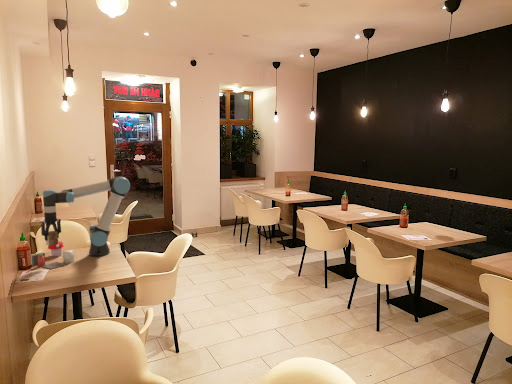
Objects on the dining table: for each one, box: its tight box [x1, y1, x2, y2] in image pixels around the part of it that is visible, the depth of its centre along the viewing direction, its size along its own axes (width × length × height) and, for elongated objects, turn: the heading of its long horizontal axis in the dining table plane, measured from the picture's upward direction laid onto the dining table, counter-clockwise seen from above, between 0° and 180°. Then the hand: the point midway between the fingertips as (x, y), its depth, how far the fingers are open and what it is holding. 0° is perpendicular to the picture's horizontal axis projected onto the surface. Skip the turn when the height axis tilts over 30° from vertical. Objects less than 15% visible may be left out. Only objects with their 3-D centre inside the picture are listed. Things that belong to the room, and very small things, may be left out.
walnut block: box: [48, 230, 59, 246], centre depth 274 cm, size 6×6×9 cm
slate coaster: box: [41, 261, 67, 270], centre depth 273 cm, size 11×11×1 cm
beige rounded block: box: [62, 249, 75, 264], centre depth 281 cm, size 7×7×8 cm
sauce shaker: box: [37, 253, 46, 268], centre depth 273 cm, size 4×4×9 cm
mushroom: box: [47, 240, 65, 258], centre depth 297 cm, size 11×11×12 cm
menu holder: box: [30, 252, 46, 266], centre depth 278 cm, size 8×3×7 cm, turn 150°
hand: (52, 243), depth 274 cm, fingers closed on walnut block, 6 cm apart
